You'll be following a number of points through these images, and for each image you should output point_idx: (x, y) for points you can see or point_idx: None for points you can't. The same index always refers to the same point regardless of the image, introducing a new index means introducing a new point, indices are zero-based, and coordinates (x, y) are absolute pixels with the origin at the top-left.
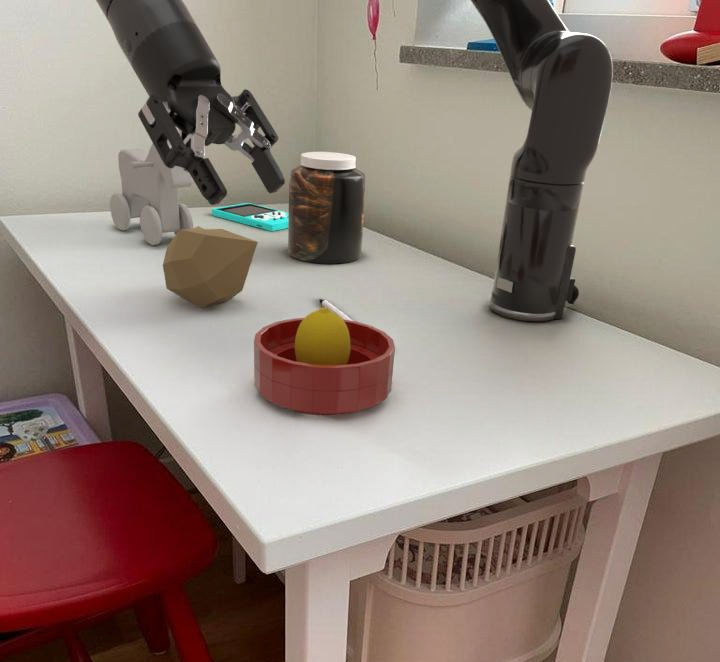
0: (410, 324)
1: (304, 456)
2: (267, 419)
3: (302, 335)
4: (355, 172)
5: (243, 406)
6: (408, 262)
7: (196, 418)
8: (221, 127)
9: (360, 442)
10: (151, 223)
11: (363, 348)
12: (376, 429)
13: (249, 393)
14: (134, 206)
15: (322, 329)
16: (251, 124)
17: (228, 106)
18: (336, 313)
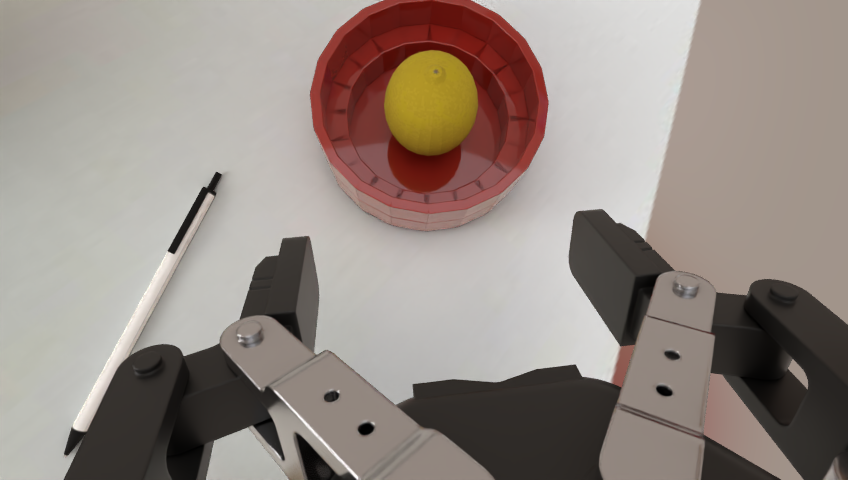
0: (57, 229)
1: (576, 32)
2: (546, 126)
3: (476, 101)
4: None
5: (546, 175)
6: None
7: (618, 189)
8: (500, 392)
9: (500, 10)
10: None
11: (330, 112)
12: None
13: (511, 201)
14: None
15: (462, 63)
16: (291, 377)
17: (428, 445)
18: (125, 356)
